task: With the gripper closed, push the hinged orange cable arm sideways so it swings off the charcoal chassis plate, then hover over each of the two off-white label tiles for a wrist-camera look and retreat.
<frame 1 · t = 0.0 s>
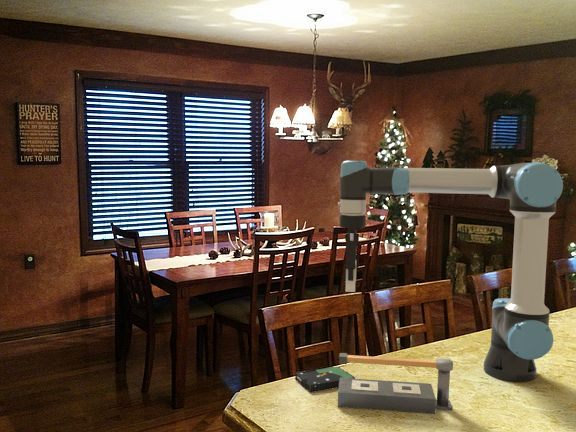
hand: (350, 286, 160), 28 cm above the counter, fingers open, 13 cm apart
disk drive: (324, 384, 160), on the counter
cable arm: (395, 361, 146), point 11 cm above the counter, hinge at 0.0°
pivot post: (442, 406, 145), on the counter
chassis: (385, 402, 147), on the counter
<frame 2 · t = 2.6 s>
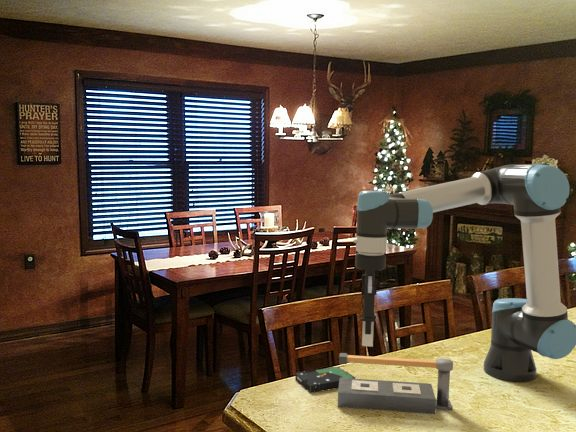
hand: (367, 345, 138), 18 cm above the counter, fingers closed
nothing on the counter moved.
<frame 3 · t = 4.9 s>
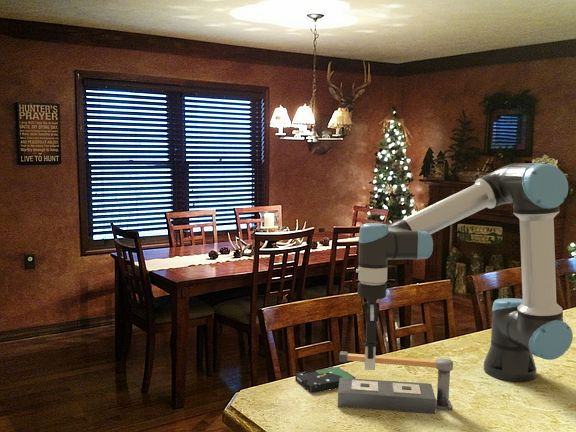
hand: (369, 368, 146), 9 cm above the counter, fingers closed
cable arm: (395, 360, 146), point 11 cm above the counter, hinge at -3.2°, touching gripper
everything else where it was.
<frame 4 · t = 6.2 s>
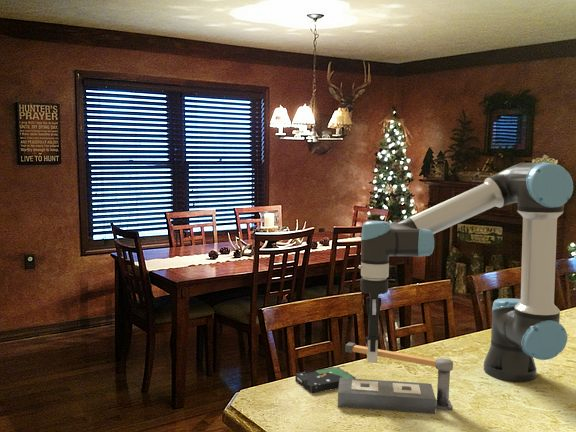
hand: (372, 361, 151), 9 cm above the counter, fingers closed
cable arm: (397, 356, 150), point 11 cm above the counter, hinge at -20.4°, touching gripper
everything else where it was.
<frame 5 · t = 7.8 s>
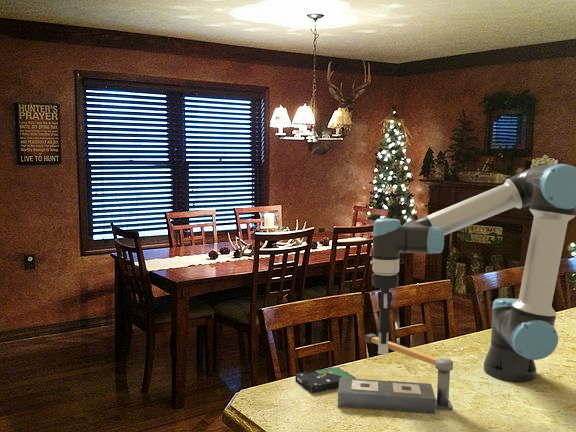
hand: (383, 353, 158), 9 cm above the counter, fingers closed
cable arm: (406, 351, 154), point 11 cm above the counter, hinge at -44.5°, touching gripper
everything else where it was.
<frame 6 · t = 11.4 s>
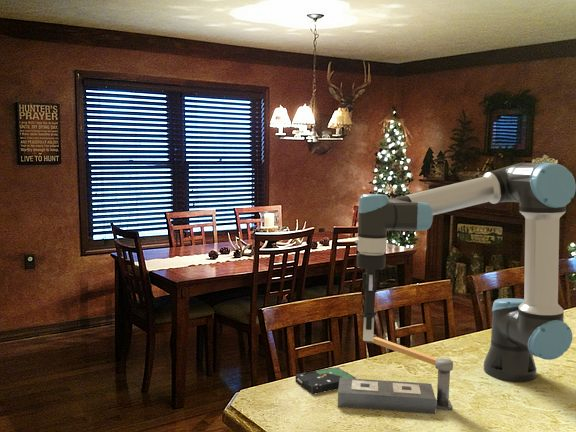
hand: (368, 340, 146), 17 cm above the counter, fingers closed
cable arm: (406, 351, 154), point 11 cm above the counter, hinge at -44.5°
everything else where it was.
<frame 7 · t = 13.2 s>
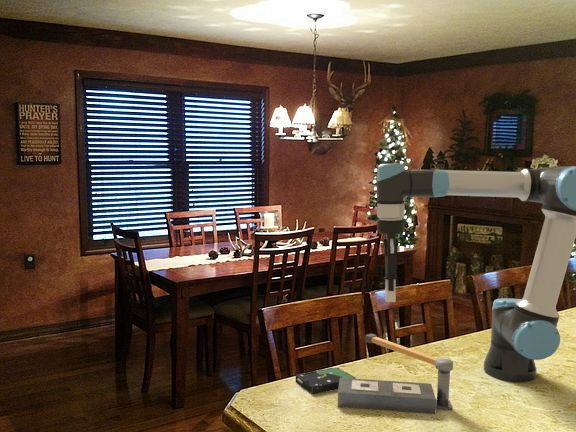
hand: (390, 301, 155), 25 cm above the counter, fingers closed
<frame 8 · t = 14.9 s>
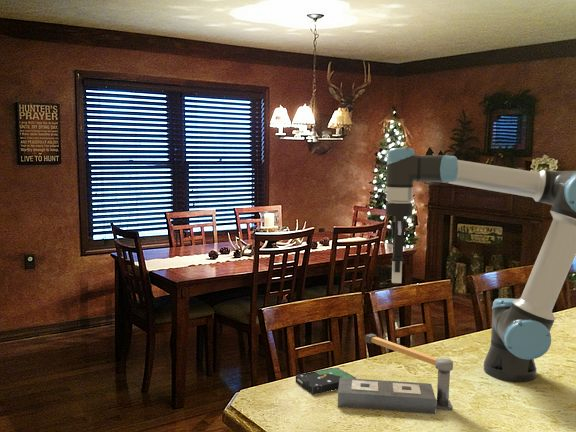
hand: (396, 282, 160), 29 cm above the counter, fingers closed
at the end: cable arm at -44° (first picture: +0°); disk drive moved 1.4 cm from its start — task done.
